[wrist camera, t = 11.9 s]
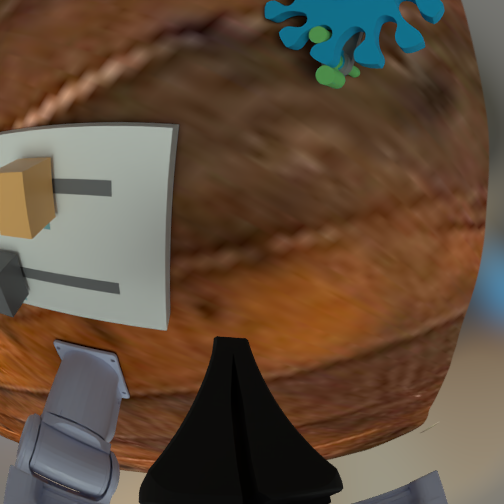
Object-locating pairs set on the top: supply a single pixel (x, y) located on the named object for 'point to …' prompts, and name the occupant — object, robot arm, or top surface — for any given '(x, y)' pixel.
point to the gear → (349, 32)
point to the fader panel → (101, 220)
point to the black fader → (11, 284)
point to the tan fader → (26, 197)
